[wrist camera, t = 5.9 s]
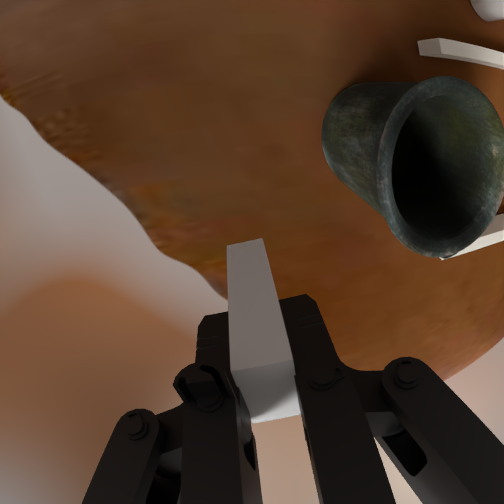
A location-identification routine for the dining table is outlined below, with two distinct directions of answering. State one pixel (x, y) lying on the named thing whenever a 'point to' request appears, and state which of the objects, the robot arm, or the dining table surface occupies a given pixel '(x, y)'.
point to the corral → (450, 49)
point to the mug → (420, 158)
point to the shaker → (489, 9)
